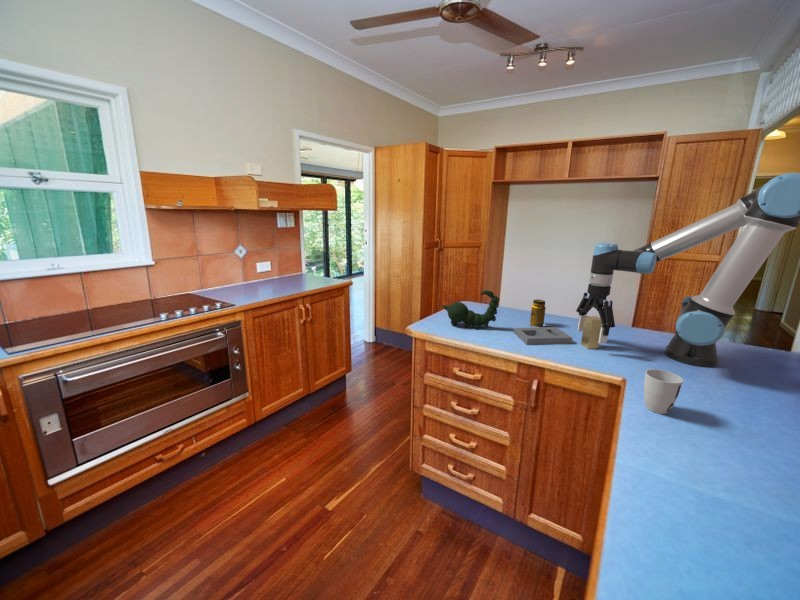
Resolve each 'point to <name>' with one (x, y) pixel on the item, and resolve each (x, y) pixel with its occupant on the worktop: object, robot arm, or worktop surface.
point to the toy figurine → (472, 313)
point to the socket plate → (542, 335)
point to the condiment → (538, 313)
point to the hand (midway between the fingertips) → (591, 336)
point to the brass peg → (591, 332)
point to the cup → (661, 390)
